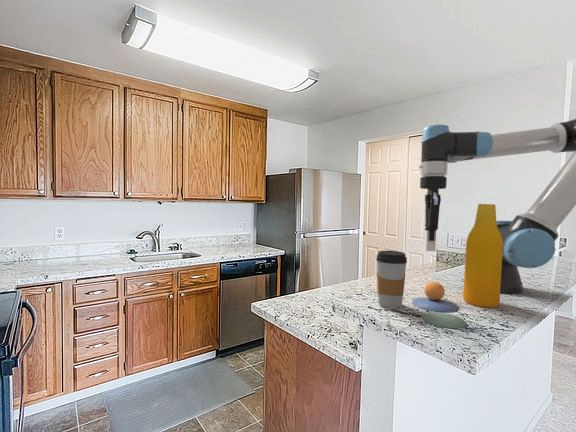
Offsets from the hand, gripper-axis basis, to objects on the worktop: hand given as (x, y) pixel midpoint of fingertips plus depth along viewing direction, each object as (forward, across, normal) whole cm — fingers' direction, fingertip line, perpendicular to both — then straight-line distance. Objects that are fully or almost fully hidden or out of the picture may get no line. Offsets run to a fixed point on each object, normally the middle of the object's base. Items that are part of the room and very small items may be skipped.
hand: (430, 250), depth 101 cm
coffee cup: (+14, +15, -12) cm, 24 cm away
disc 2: (+14, +23, 0) cm, 27 cm away
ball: (+11, +6, +1) cm, 13 cm away
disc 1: (+14, +11, 0) cm, 18 cm away
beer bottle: (+14, +5, +14) cm, 20 cm away
